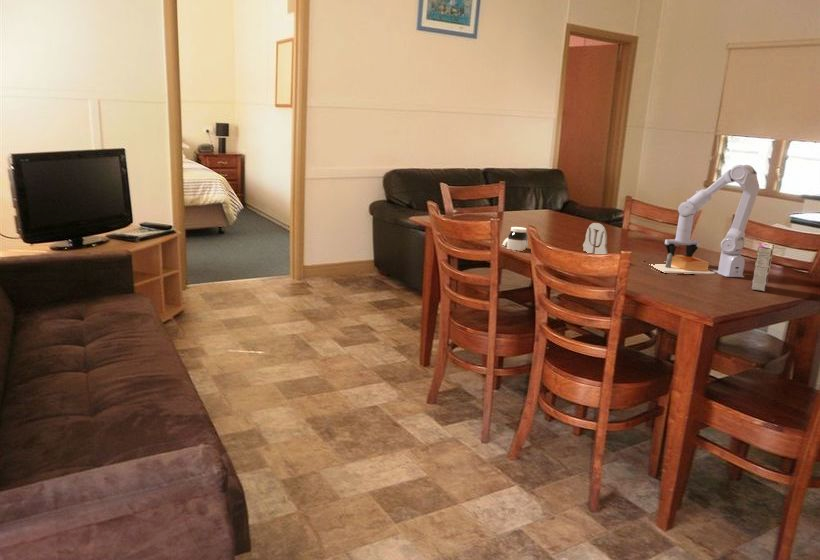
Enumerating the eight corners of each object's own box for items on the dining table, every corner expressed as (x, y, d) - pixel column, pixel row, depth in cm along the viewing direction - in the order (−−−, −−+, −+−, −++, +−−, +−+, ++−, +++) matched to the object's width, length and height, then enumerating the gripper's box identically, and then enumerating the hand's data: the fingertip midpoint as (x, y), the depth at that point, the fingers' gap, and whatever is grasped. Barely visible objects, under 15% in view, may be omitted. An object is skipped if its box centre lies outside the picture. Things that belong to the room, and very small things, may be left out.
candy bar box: (752, 284, 242) (760, 242, 238) (766, 286, 239) (774, 244, 235) (749, 289, 232) (758, 246, 229) (765, 291, 230) (773, 248, 226)
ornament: (607, 267, 259) (613, 227, 255) (579, 267, 255) (584, 226, 251) (580, 256, 279) (585, 219, 275) (554, 256, 276) (558, 218, 272)
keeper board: (714, 275, 253) (717, 258, 252) (663, 274, 251) (666, 256, 249) (688, 265, 273) (690, 249, 271) (640, 263, 270) (642, 247, 269)
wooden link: (707, 271, 256) (709, 262, 255) (684, 270, 255) (686, 261, 254) (687, 263, 270) (689, 255, 270) (666, 262, 269) (667, 254, 268)
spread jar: (520, 257, 269) (523, 230, 267) (496, 253, 275) (498, 227, 272) (529, 253, 279) (532, 227, 277) (506, 249, 285) (508, 224, 282)
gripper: (694, 229, 270) (689, 260, 273) (663, 228, 268) (658, 258, 271) (704, 232, 263) (698, 263, 266) (671, 230, 261) (666, 262, 264)
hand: (678, 261), depth 268 cm, fingers open, 7 cm apart
